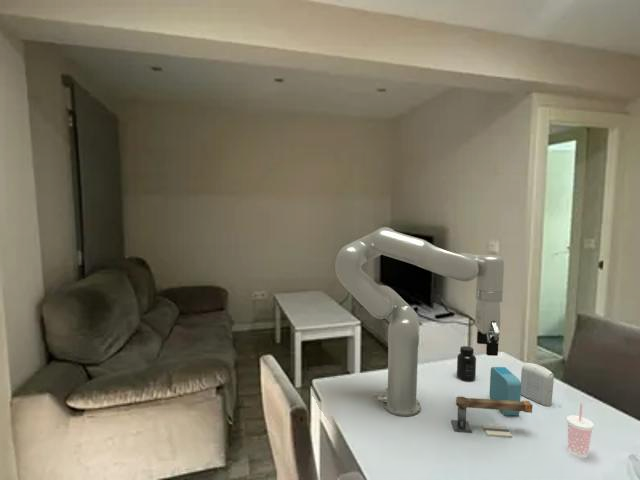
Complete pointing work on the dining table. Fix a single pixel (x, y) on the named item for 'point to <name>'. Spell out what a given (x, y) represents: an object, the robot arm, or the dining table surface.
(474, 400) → the swing bar
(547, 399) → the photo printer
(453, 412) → the dining table surface
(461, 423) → the post
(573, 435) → the beverage cup
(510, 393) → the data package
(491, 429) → the label tile
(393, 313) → the robot arm
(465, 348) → the supplement bottle
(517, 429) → the dining table surface
